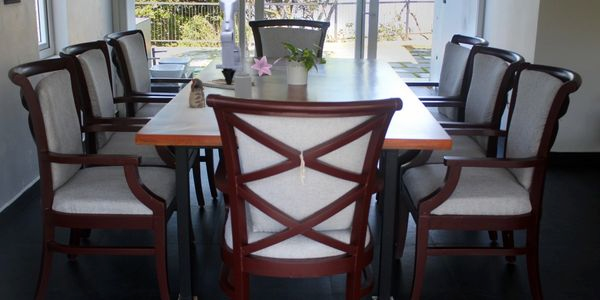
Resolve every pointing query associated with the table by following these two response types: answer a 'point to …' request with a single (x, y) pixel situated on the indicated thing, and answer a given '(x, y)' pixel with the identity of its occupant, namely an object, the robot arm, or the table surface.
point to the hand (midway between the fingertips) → (229, 84)
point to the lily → (262, 66)
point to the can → (243, 85)
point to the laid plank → (225, 81)
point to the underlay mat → (221, 88)
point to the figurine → (197, 94)
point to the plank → (218, 84)
